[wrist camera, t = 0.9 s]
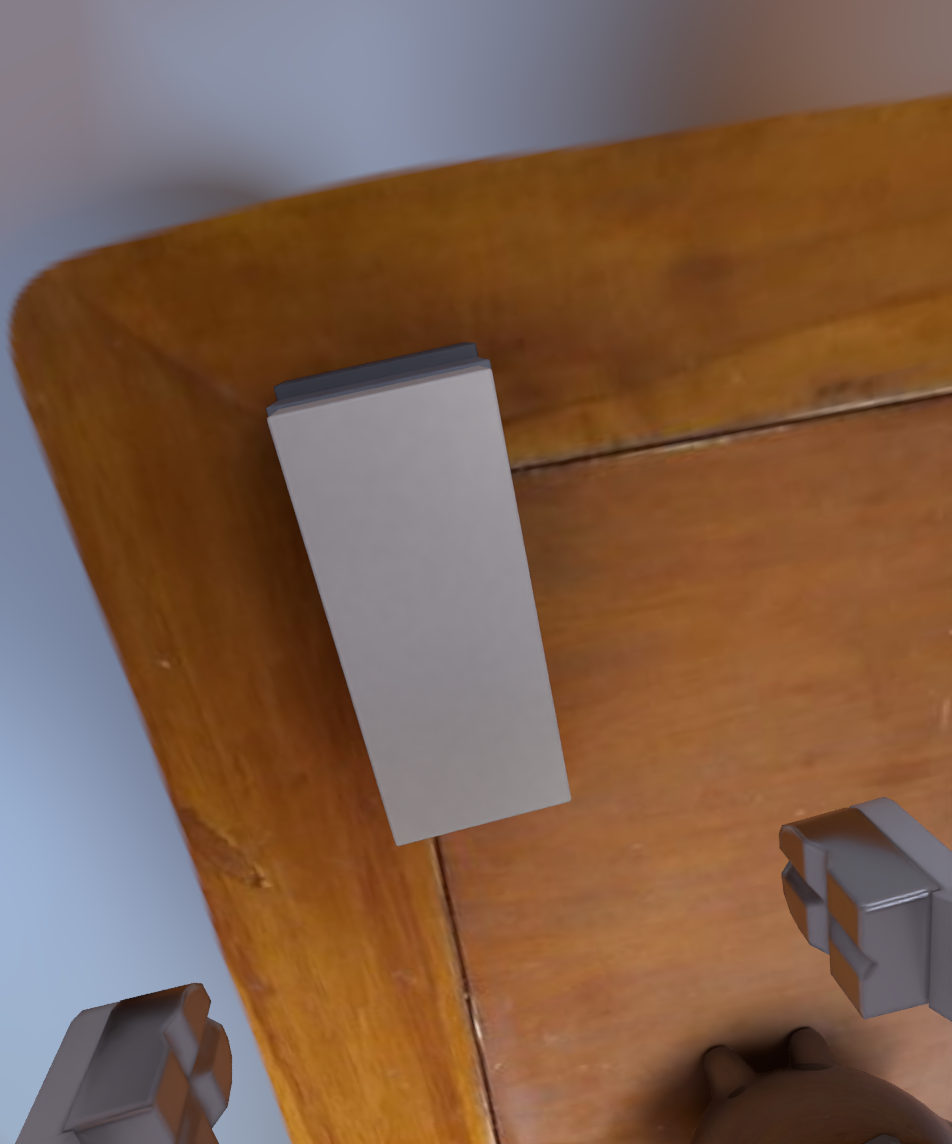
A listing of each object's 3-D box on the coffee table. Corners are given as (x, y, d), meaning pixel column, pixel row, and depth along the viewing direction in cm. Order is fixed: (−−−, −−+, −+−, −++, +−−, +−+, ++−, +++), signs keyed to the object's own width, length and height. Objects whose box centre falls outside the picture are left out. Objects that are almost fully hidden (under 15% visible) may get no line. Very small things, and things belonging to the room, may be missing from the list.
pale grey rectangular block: (275, 409, 18) (265, 417, 16) (481, 364, 18) (491, 367, 17) (394, 809, 22) (396, 848, 21) (557, 767, 23) (572, 802, 21)
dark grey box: (282, 381, 22) (260, 392, 18) (466, 341, 22) (487, 342, 18) (388, 748, 27) (391, 823, 22) (538, 710, 27) (567, 778, 23)
